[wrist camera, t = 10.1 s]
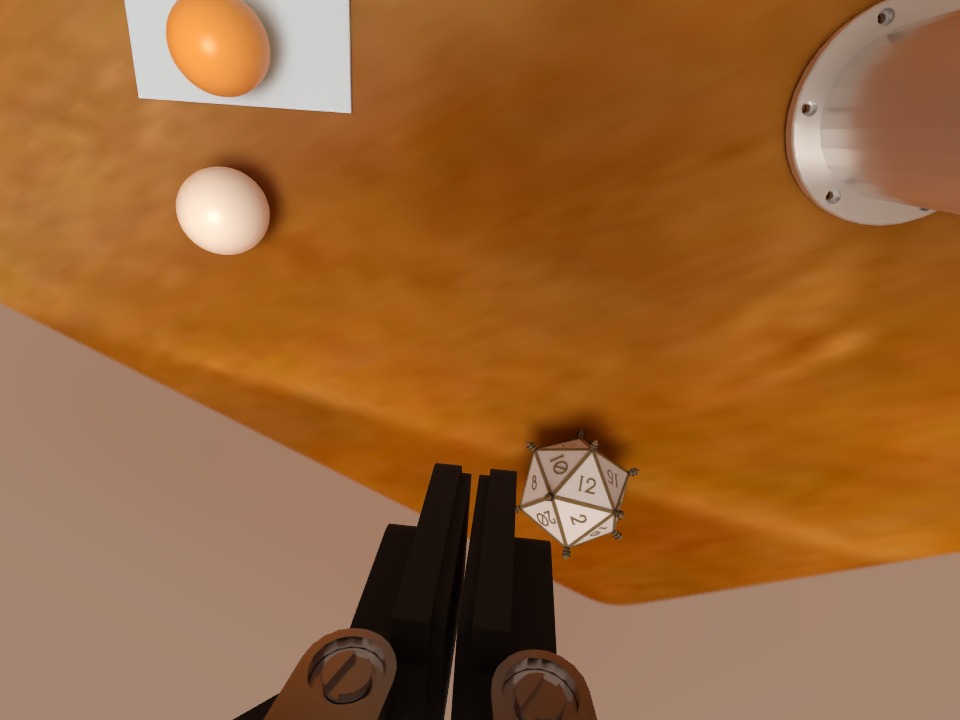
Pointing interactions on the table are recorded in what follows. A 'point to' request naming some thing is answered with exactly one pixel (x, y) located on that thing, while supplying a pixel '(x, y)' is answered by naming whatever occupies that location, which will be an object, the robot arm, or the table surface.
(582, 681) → the robot arm
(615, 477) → the game die
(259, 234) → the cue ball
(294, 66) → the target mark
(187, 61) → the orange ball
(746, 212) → the table surface
